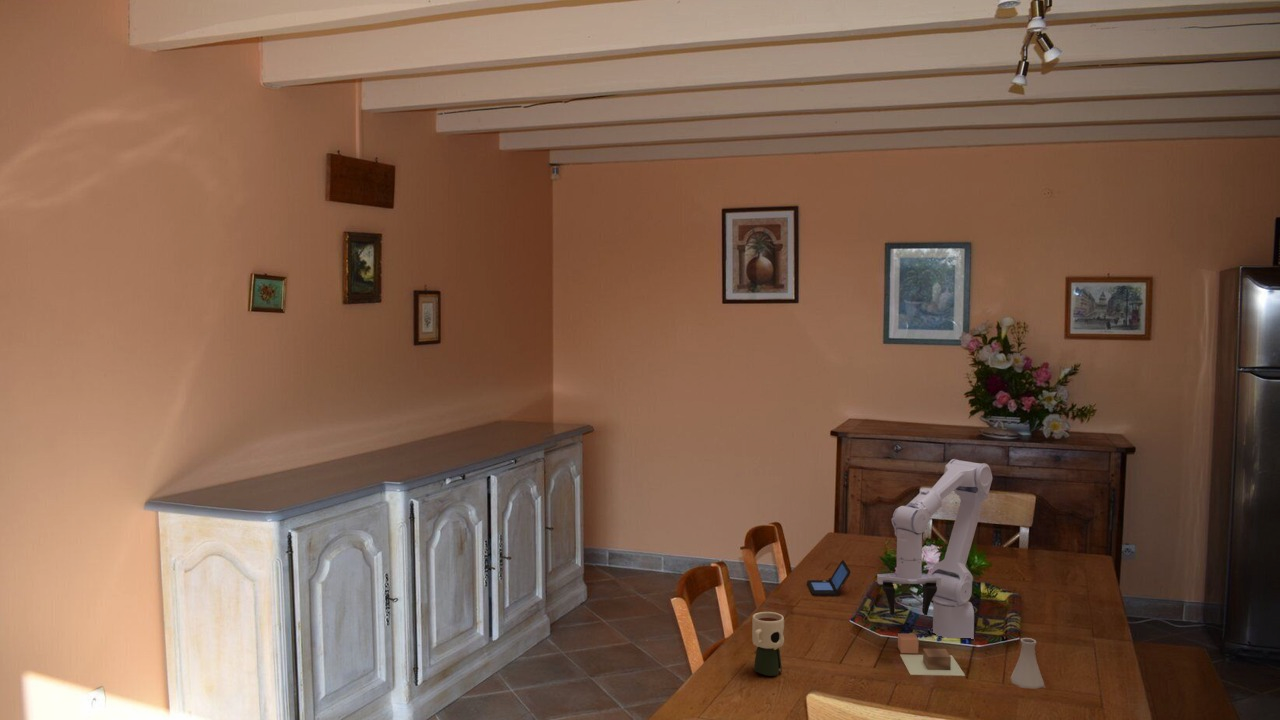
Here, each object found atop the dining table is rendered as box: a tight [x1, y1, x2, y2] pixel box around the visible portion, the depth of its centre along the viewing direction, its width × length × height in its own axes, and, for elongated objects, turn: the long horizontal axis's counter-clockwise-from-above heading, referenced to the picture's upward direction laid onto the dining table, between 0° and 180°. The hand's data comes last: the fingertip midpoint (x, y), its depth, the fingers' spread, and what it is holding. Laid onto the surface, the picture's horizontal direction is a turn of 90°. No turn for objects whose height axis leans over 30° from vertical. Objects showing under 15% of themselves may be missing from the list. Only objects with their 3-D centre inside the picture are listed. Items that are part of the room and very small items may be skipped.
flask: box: [1010, 637, 1046, 690], centre depth 214 cm, size 7×7×10 cm
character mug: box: [751, 611, 785, 677], centre depth 221 cm, size 11×7×13 cm, turn 143°
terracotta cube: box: [897, 633, 919, 654], centre depth 233 cm, size 4×4×4 cm
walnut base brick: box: [922, 648, 951, 670], centre depth 223 cm, size 5×5×3 cm
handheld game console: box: [806, 559, 851, 598], centre depth 282 cm, size 12×11×7 cm
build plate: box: [899, 653, 966, 677], centre depth 224 cm, size 12×12×1 cm
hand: (908, 613), depth 233 cm, fingers open, 7 cm apart
